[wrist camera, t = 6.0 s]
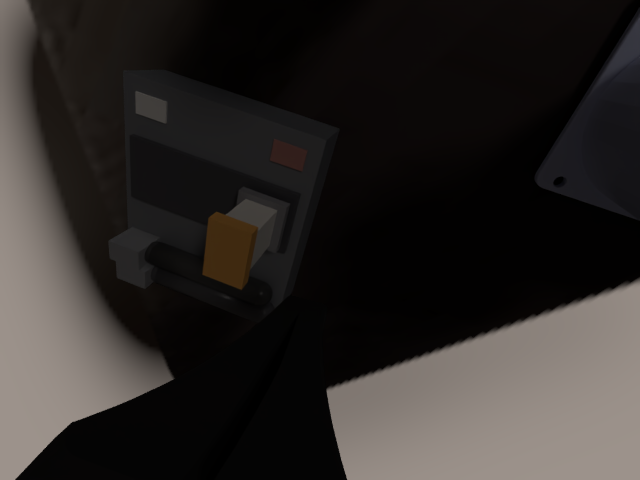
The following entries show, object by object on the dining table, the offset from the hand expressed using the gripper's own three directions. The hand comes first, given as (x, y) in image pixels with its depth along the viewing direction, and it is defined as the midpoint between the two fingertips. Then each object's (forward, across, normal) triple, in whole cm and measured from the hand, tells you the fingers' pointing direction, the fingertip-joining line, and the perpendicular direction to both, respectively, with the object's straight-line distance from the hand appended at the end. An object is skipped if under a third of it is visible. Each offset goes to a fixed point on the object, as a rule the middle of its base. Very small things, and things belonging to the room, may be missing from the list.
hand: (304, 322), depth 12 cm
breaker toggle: (+5, +4, -1) cm, 7 cm away
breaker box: (+9, +7, 0) cm, 12 cm away
